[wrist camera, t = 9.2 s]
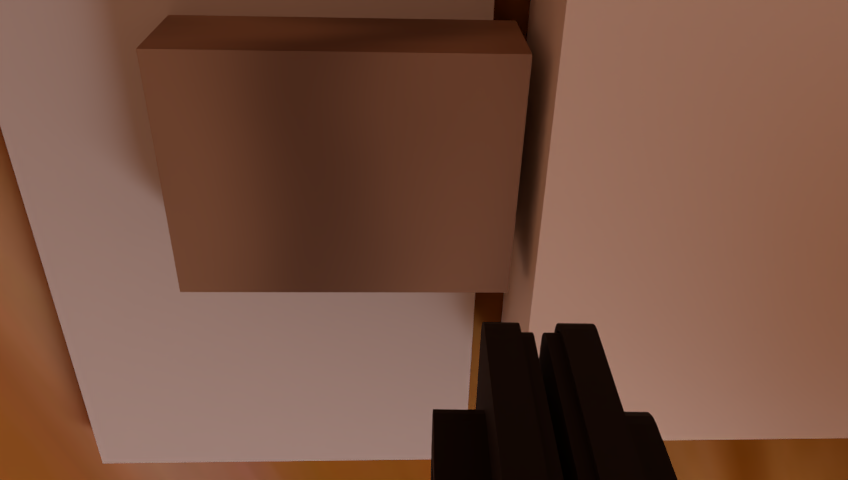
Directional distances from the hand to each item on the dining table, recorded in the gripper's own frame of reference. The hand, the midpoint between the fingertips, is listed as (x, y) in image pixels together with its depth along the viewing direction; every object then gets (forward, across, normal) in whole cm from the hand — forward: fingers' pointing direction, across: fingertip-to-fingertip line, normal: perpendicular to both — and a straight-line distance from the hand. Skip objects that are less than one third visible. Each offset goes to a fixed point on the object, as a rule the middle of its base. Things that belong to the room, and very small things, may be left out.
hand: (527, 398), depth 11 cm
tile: (+9, +4, 0) cm, 10 cm away
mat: (+10, +6, +2) cm, 12 cm away
